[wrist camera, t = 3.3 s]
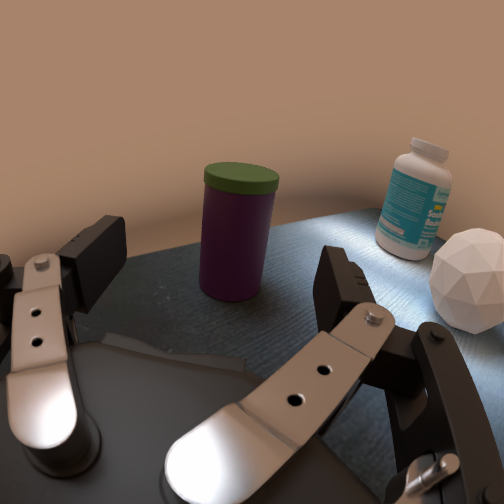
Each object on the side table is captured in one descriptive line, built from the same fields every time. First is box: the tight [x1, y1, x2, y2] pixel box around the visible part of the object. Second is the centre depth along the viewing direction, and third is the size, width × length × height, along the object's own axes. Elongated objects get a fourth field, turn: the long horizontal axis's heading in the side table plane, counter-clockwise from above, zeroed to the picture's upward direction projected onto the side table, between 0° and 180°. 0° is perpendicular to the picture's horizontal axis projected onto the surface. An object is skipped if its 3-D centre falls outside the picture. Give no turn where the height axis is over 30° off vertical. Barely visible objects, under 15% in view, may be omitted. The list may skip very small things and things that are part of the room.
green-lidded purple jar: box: [199, 162, 279, 302], centre depth 22 cm, size 5×5×9 cm
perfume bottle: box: [429, 228, 504, 334], centre depth 20 cm, size 9×9×12 cm
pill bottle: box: [375, 137, 453, 260], centre depth 32 cm, size 8×7×14 cm
